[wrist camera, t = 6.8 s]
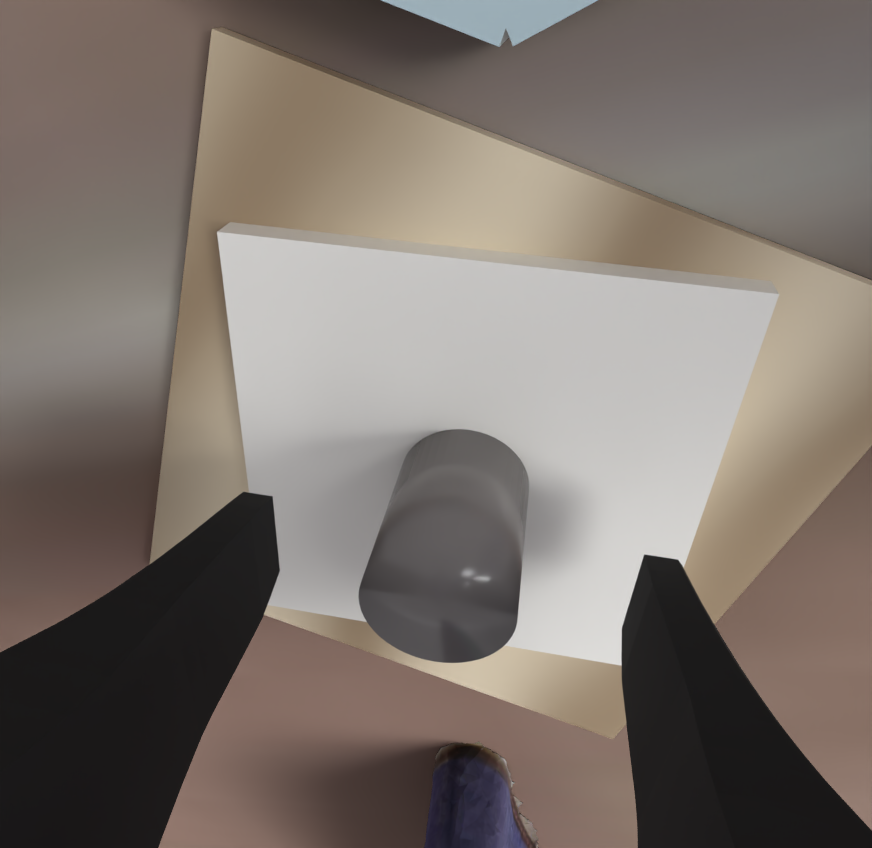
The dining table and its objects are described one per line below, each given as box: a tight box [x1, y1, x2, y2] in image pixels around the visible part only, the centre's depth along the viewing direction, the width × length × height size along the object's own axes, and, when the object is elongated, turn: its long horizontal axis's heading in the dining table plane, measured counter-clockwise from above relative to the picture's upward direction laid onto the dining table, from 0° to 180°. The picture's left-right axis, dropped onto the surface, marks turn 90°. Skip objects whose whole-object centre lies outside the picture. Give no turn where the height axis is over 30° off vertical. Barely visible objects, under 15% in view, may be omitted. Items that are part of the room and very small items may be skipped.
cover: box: [217, 222, 779, 666], centre depth 14 cm, size 10×10×4 cm
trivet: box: [150, 27, 872, 739], centre depth 16 cm, size 14×14×1 cm
